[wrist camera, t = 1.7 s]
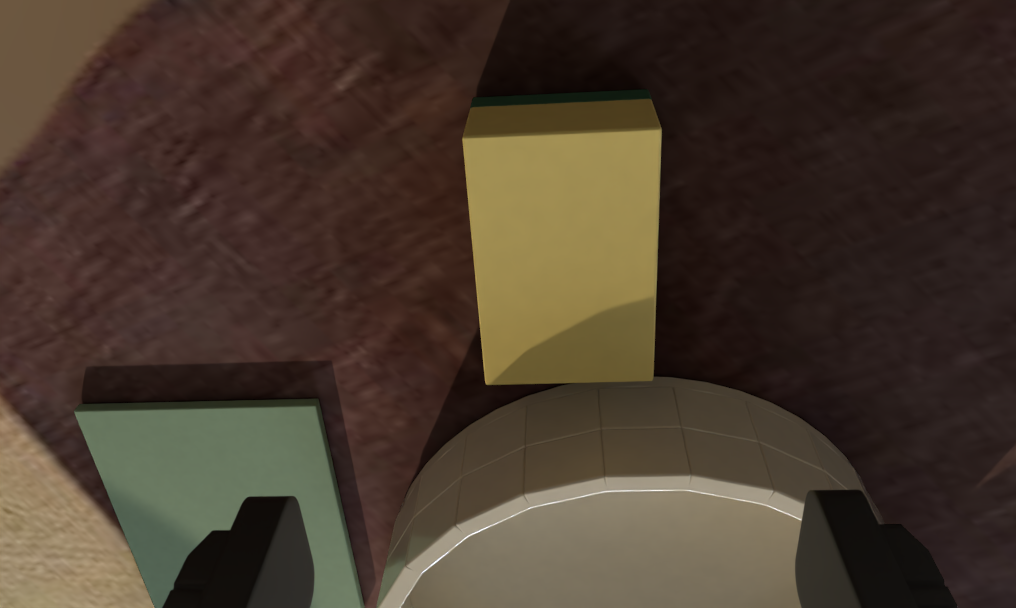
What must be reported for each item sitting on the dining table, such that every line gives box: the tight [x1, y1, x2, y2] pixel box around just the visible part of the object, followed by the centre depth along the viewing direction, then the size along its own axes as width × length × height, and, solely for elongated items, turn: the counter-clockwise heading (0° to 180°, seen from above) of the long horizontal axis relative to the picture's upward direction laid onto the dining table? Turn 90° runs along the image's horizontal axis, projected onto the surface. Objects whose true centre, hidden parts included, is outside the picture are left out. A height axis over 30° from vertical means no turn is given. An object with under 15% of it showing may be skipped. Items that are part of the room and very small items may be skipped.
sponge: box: [462, 89, 662, 385], centre depth 22 cm, size 7×4×3 cm, turn 4°
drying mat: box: [74, 399, 365, 608], centre depth 29 cm, size 10×8×1 cm
